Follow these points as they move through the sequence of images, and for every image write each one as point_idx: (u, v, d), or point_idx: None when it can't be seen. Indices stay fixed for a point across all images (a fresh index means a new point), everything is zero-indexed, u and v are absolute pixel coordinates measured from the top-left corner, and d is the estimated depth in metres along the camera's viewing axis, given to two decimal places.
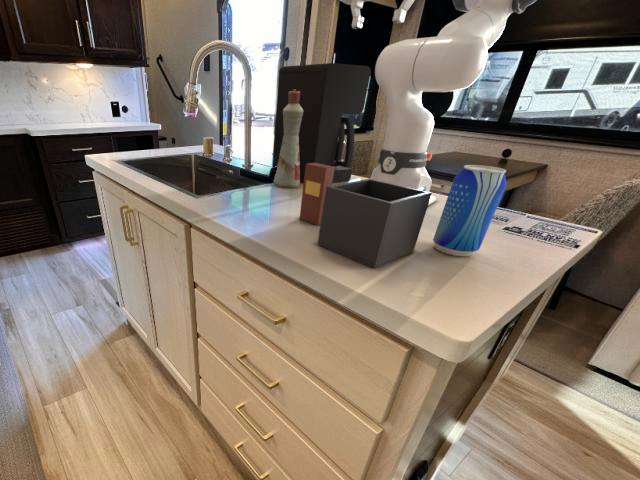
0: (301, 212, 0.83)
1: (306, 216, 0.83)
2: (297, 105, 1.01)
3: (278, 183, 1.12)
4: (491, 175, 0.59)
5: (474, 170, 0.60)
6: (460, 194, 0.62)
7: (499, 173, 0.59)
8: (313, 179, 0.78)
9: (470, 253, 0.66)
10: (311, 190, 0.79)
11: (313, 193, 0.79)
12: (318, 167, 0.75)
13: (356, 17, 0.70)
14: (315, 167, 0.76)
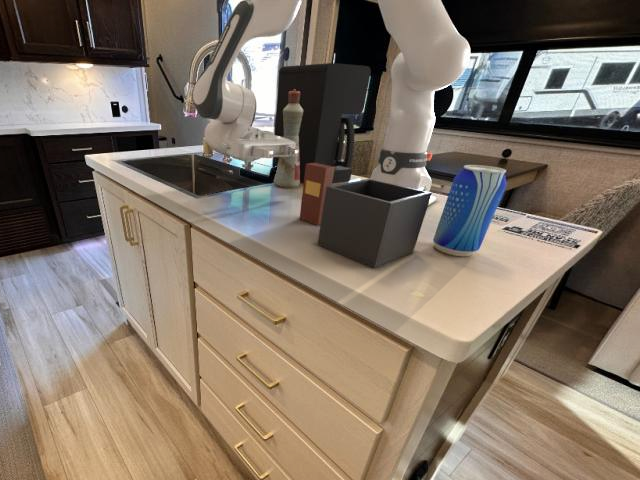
0: (301, 212, 0.83)
1: (306, 216, 0.83)
2: (297, 105, 1.01)
3: (278, 183, 1.12)
4: (491, 175, 0.59)
5: (474, 170, 0.60)
6: (460, 194, 0.62)
7: (499, 173, 0.59)
8: (313, 179, 0.78)
9: (470, 253, 0.66)
10: (311, 190, 0.79)
11: (313, 193, 0.79)
12: (318, 167, 0.75)
13: None
14: (315, 167, 0.76)
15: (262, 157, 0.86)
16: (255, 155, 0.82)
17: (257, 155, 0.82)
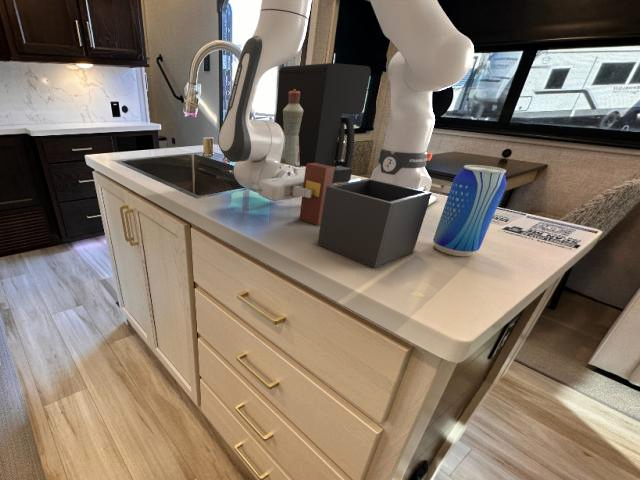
0: (301, 212, 0.83)
1: (306, 216, 0.83)
2: (297, 105, 1.01)
3: None
4: (491, 175, 0.59)
5: (474, 170, 0.60)
6: (460, 194, 0.62)
7: (499, 173, 0.59)
8: (313, 179, 0.78)
9: (470, 253, 0.66)
10: None
11: None
12: (318, 167, 0.75)
13: None
14: (315, 167, 0.76)
15: (296, 196, 0.82)
16: (296, 195, 0.80)
17: (298, 195, 0.80)
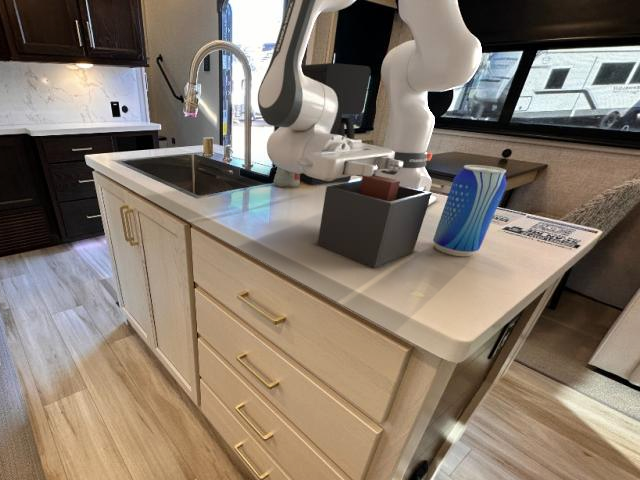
0: None
1: None
2: None
3: (278, 183, 1.12)
4: (491, 175, 0.59)
5: (474, 170, 0.60)
6: (460, 194, 0.62)
7: (499, 173, 0.59)
8: (372, 195, 0.63)
9: (470, 253, 0.66)
10: None
11: None
12: (380, 181, 0.61)
13: None
14: (375, 181, 0.61)
15: None
16: (351, 173, 0.60)
17: (354, 173, 0.60)
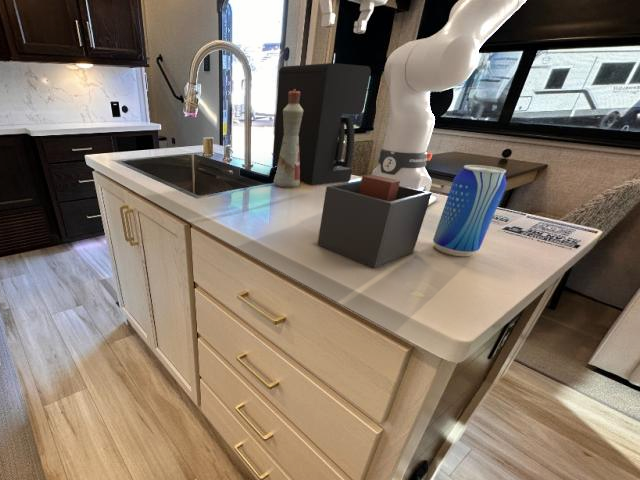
0: None
1: None
2: (297, 105, 1.01)
3: (278, 183, 1.12)
4: (491, 175, 0.59)
5: (474, 170, 0.60)
6: (460, 194, 0.62)
7: (499, 173, 0.59)
8: (372, 195, 0.63)
9: (470, 253, 0.66)
10: None
11: None
12: (380, 181, 0.61)
13: None
14: (375, 181, 0.61)
15: None
16: (320, 1, 0.59)
17: (321, 4, 0.59)
